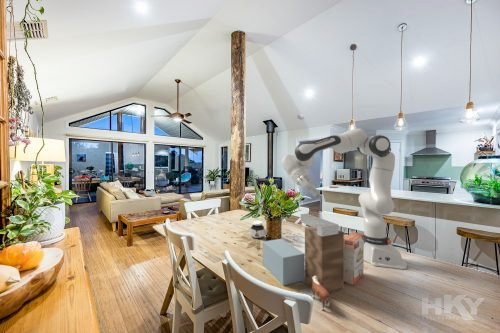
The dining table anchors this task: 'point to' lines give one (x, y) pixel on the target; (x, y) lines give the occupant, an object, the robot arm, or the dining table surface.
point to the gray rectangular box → (284, 261)
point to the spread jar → (258, 230)
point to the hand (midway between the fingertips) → (317, 196)
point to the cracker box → (353, 257)
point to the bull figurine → (320, 292)
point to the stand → (324, 259)
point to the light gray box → (320, 225)
